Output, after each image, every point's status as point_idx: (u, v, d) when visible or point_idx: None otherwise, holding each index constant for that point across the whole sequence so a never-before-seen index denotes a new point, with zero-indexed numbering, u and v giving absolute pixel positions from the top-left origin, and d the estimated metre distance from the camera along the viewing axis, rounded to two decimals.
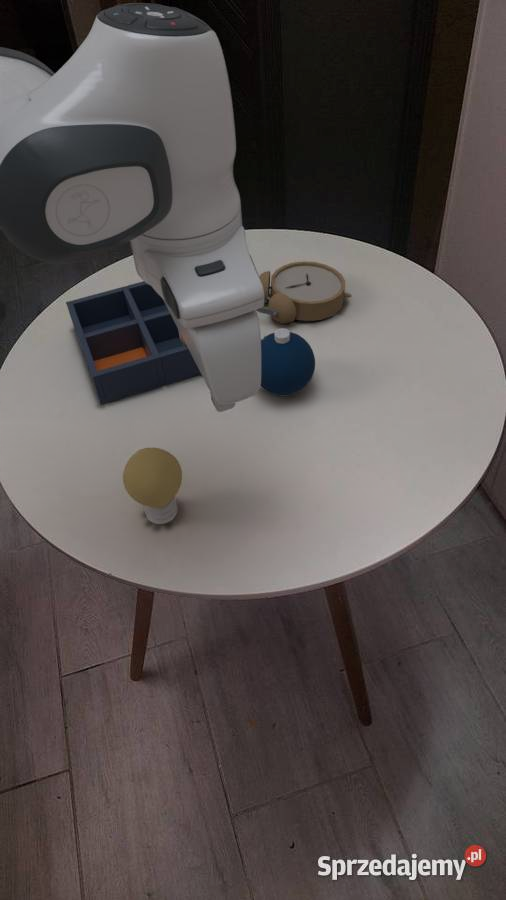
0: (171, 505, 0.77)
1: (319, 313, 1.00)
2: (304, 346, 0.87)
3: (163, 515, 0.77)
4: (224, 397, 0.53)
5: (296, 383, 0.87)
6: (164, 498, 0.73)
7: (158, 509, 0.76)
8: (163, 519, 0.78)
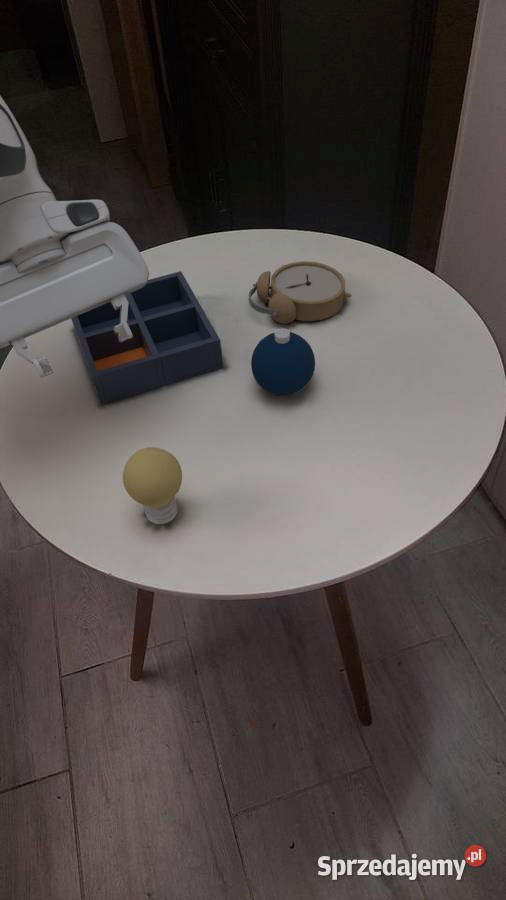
0: (171, 505, 0.77)
1: (319, 313, 1.00)
2: (304, 346, 0.87)
3: (163, 515, 0.77)
4: None
5: (296, 383, 0.87)
6: (164, 498, 0.73)
7: (158, 509, 0.76)
8: (163, 519, 0.78)
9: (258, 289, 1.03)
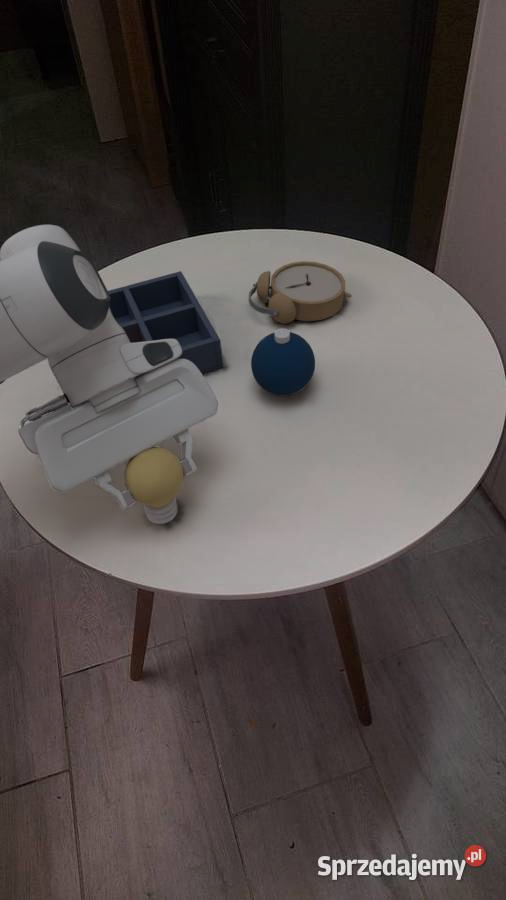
0: (171, 505, 0.77)
1: (319, 313, 1.00)
2: (304, 347, 0.87)
3: (163, 515, 0.77)
4: None
5: (296, 383, 0.87)
6: (165, 497, 0.73)
7: (159, 508, 0.76)
8: (163, 519, 0.78)
9: (258, 289, 1.03)
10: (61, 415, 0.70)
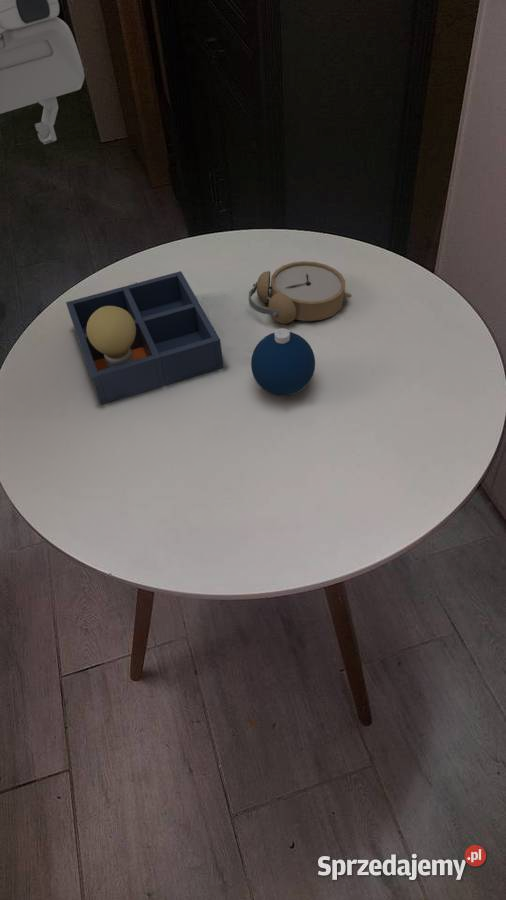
0: (128, 357, 0.93)
1: (319, 313, 1.00)
2: (304, 346, 0.87)
3: None
4: None
5: (296, 383, 0.87)
6: (120, 345, 0.89)
7: (117, 359, 0.92)
8: None
9: (258, 289, 1.03)
10: None
